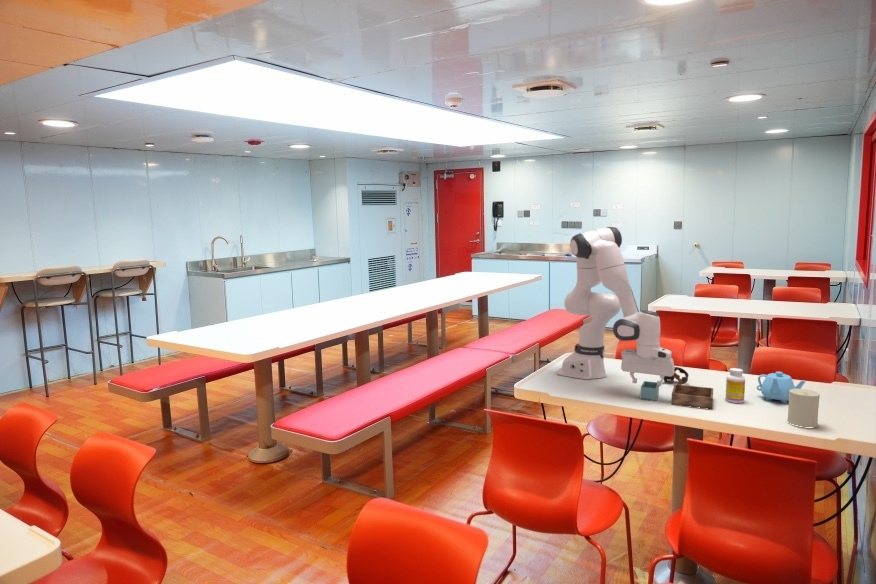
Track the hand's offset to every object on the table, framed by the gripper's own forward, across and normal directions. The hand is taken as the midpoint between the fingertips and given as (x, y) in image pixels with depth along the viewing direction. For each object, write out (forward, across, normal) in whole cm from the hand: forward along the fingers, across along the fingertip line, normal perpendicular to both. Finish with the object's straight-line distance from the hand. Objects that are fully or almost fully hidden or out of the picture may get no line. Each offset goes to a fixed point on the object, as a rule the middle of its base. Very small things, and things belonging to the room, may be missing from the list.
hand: (646, 384), depth 233 cm
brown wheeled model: (+5, +6, +28) cm, 29 cm away
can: (+6, +54, -6) cm, 54 cm away
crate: (+6, +17, +3) cm, 18 cm away
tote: (+6, +1, +2) cm, 6 cm away
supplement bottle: (+6, +31, +12) cm, 34 cm away
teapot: (+6, +47, +22) cm, 52 cm away
